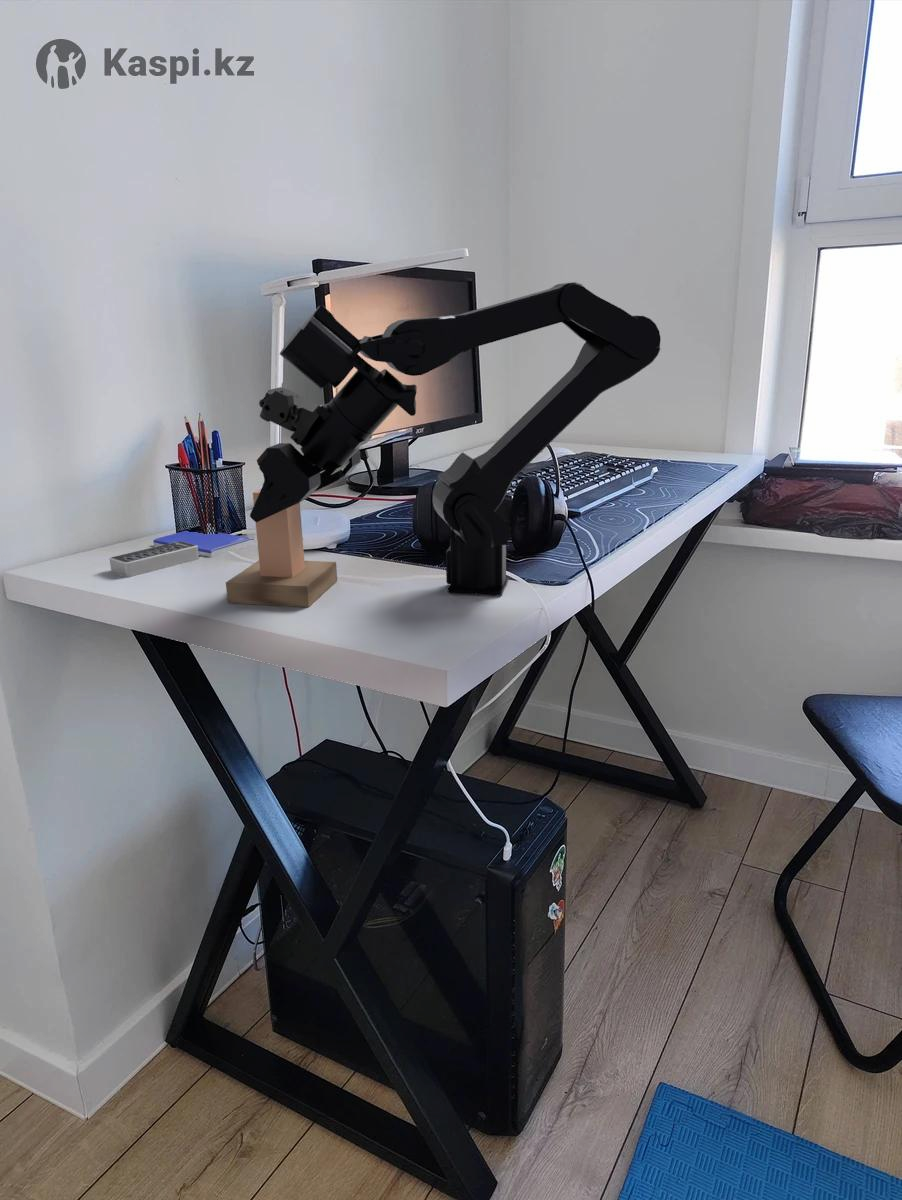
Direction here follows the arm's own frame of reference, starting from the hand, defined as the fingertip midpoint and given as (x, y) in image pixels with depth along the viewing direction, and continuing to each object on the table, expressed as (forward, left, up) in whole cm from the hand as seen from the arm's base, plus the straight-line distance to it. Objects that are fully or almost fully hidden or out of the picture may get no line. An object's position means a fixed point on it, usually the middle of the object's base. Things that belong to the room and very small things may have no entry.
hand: (269, 510), depth 100 cm
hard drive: (+19, -19, -11) cm, 30 cm away
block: (-1, 0, -8) cm, 8 cm away
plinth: (-1, 0, -10) cm, 10 cm away
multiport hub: (+21, -8, -11) cm, 25 cm away
